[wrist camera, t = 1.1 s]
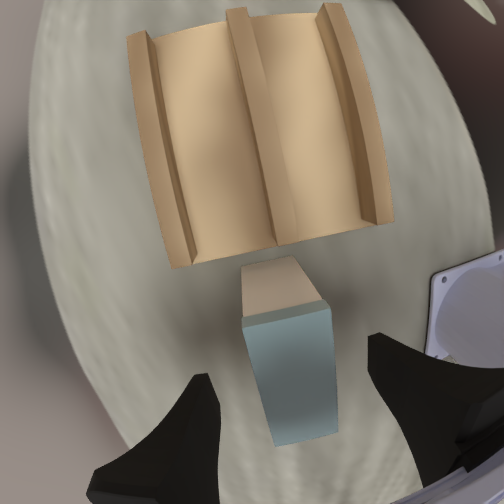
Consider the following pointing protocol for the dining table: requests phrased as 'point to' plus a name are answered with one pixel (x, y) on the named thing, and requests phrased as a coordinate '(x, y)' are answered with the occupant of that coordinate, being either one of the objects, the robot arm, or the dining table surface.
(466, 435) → the robot arm
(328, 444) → the dining table surface
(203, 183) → the rack
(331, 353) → the tall pale blue block
